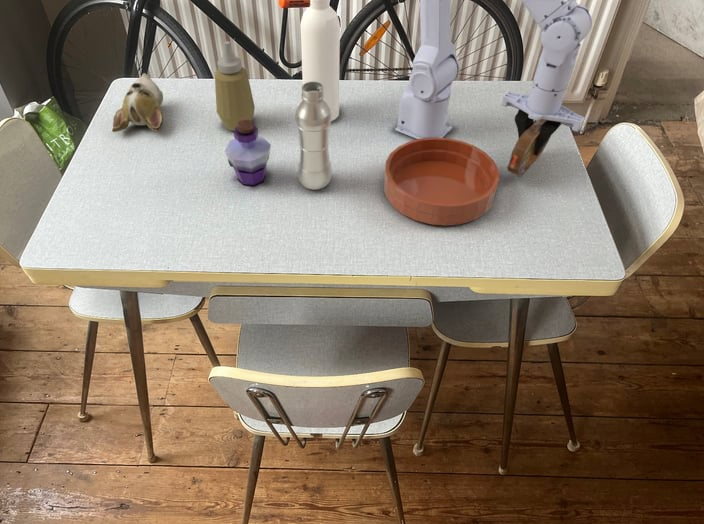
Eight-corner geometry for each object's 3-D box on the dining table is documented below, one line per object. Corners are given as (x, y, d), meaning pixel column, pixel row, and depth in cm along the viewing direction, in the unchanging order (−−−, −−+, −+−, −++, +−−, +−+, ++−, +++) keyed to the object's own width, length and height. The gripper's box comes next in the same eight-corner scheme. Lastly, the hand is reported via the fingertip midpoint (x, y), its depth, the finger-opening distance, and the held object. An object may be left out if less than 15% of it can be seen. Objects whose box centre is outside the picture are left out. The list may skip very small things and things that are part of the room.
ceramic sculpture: (167, 65, 123) (152, 106, 114) (176, 101, 130) (163, 142, 121) (118, 66, 124) (100, 107, 115) (129, 101, 131) (113, 142, 121)
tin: (514, 184, 107) (530, 148, 100) (499, 177, 108) (513, 140, 101) (547, 147, 115) (564, 111, 108) (533, 140, 116) (548, 104, 109)
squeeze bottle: (264, 120, 125) (256, 39, 111) (241, 139, 120) (230, 56, 107) (234, 110, 128) (223, 29, 114) (211, 128, 123) (196, 45, 110)
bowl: (362, 198, 107) (363, 176, 103) (419, 147, 117) (422, 125, 114) (459, 243, 98) (464, 222, 95) (512, 184, 109) (518, 162, 105)
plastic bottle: (336, 176, 111) (337, 80, 96) (325, 197, 107) (324, 100, 92) (305, 169, 113) (301, 74, 98) (293, 190, 109) (287, 94, 94)
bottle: (327, 100, 130) (326, -45, 107) (346, 116, 125) (349, -32, 103) (296, 111, 127) (289, -36, 105) (315, 128, 123) (311, -22, 100)
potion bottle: (227, 167, 114) (218, 113, 105) (270, 161, 115) (265, 107, 106) (232, 194, 108) (223, 140, 99) (277, 188, 109) (272, 133, 100)
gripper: (501, 79, 99) (485, 146, 110) (582, 106, 93) (557, 174, 104) (518, 63, 103) (501, 129, 113) (598, 88, 97) (572, 155, 107)
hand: (529, 149), depth 109 cm, fingers closed on tin, 2 cm apart
